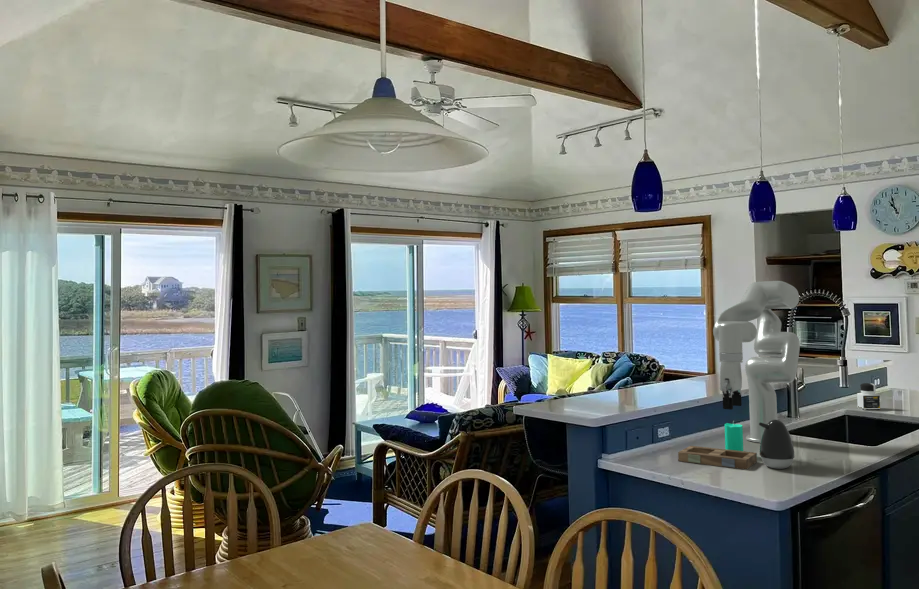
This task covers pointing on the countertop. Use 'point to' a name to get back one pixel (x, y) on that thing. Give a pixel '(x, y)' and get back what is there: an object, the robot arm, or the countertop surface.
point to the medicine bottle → (868, 396)
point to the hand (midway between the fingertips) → (732, 407)
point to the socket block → (718, 457)
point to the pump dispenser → (776, 445)
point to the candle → (734, 437)
